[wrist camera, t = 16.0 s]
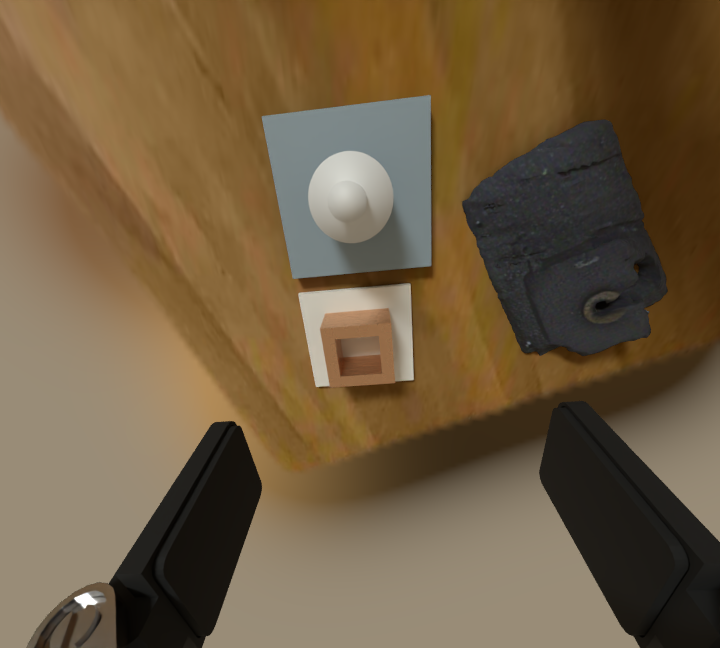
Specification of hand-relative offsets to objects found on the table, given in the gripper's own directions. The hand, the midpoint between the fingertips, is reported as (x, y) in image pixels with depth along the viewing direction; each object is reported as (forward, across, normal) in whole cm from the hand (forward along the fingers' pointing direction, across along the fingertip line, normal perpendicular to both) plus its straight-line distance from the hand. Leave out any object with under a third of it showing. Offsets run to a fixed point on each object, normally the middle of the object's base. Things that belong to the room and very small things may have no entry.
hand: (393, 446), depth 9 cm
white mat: (+24, +3, +9) cm, 26 cm away
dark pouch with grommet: (+26, -19, +2) cm, 32 cm away
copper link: (+24, +3, +9) cm, 26 cm away
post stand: (+25, +2, -6) cm, 26 cm away
